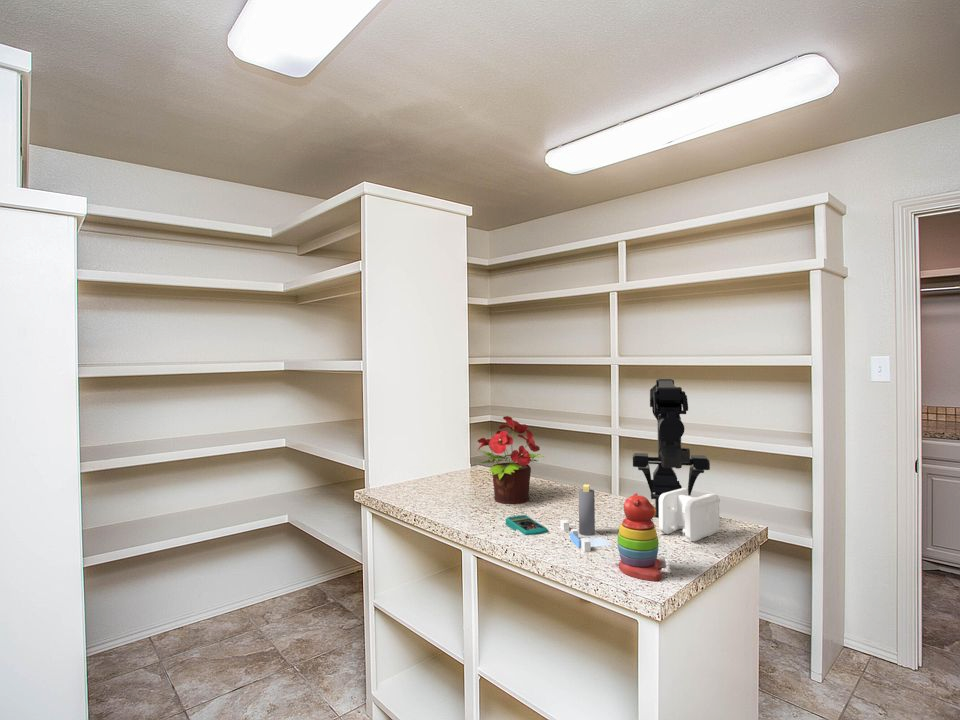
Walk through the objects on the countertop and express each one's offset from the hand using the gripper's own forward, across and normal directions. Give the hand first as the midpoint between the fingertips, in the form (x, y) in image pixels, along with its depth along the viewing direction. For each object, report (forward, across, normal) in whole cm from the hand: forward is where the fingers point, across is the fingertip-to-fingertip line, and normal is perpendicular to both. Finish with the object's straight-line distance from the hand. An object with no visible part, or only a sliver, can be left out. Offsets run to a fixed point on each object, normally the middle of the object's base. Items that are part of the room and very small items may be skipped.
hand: (670, 494), depth 137 cm
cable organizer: (+15, +6, +14) cm, 22 cm away
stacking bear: (+15, -8, -16) cm, 23 cm away
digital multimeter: (+15, -40, +6) cm, 43 cm away
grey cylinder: (+14, -22, +5) cm, 26 cm away
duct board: (+15, -20, +1) cm, 25 cm away
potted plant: (+15, -54, +39) cm, 68 cm away
